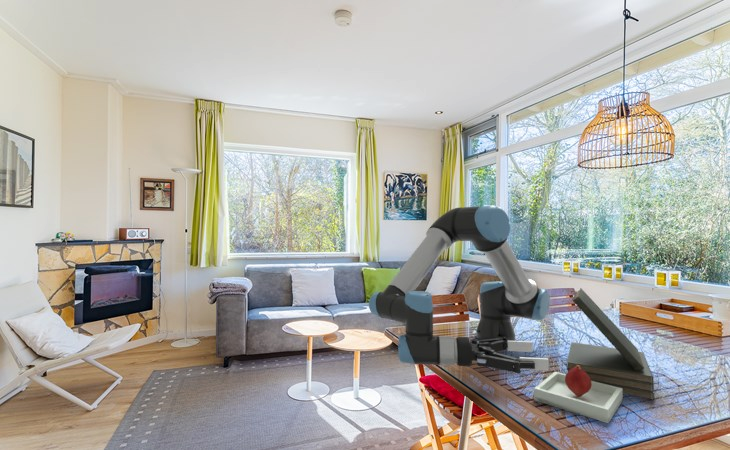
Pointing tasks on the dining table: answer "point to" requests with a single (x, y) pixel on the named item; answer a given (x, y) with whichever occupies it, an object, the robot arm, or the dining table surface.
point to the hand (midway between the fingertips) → (539, 355)
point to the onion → (578, 381)
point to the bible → (611, 355)
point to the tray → (580, 398)
